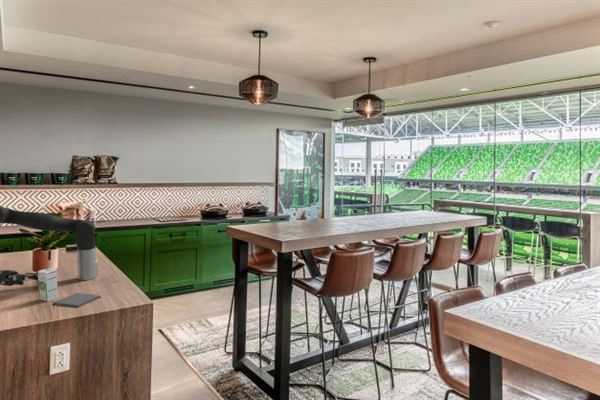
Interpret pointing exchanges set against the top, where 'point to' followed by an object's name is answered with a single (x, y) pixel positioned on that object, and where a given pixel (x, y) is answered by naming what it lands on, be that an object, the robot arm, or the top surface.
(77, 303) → the charcoal mat
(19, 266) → the top surface
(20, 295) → the top surface
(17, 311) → the top surface
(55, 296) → the syrup box
